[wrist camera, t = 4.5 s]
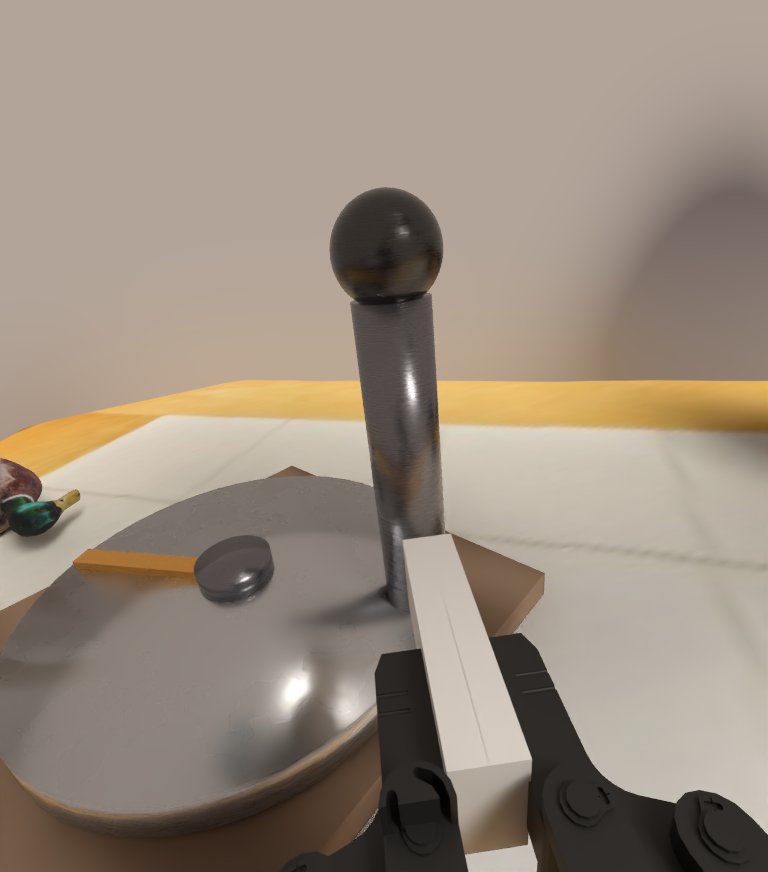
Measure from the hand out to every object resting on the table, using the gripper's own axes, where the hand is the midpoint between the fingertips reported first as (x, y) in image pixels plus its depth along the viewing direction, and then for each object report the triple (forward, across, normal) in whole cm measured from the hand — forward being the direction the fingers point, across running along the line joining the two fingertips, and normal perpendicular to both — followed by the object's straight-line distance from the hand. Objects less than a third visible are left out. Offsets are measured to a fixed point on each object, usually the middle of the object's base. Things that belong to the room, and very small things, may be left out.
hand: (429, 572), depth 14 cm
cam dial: (+9, -9, -8) cm, 15 cm away
